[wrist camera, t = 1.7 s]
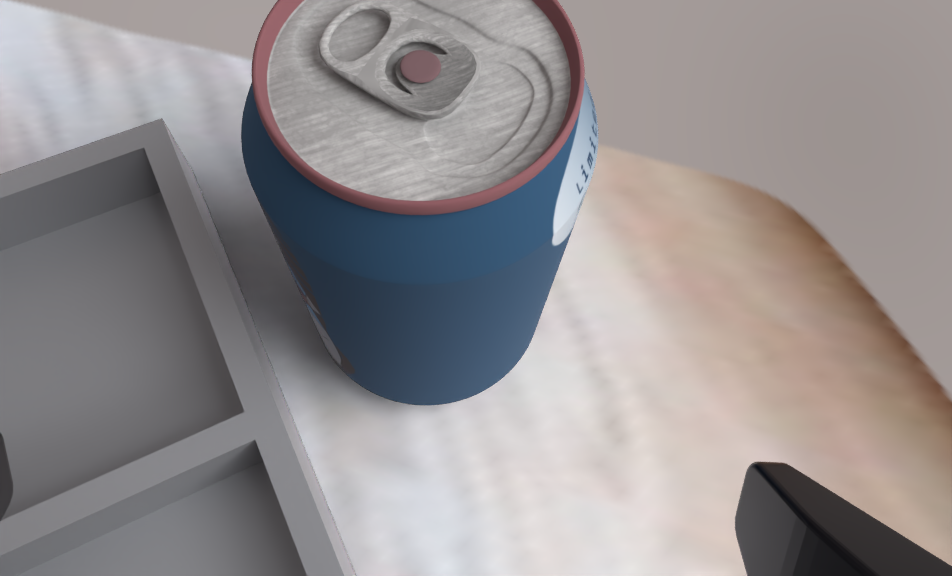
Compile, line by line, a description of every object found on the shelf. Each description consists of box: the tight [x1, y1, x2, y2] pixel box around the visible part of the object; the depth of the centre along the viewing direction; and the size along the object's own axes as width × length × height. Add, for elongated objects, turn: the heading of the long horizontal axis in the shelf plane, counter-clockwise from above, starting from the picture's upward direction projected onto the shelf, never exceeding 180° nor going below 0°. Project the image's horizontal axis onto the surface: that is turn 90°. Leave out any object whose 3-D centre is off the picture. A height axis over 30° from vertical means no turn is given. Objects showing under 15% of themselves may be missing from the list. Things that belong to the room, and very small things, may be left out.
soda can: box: [241, 0, 598, 405], centre depth 18 cm, size 7×7×12 cm
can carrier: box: [0, 119, 356, 576], centre depth 19 cm, size 20×11×3 cm, turn 26°
